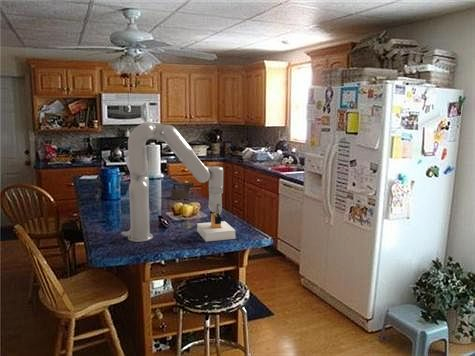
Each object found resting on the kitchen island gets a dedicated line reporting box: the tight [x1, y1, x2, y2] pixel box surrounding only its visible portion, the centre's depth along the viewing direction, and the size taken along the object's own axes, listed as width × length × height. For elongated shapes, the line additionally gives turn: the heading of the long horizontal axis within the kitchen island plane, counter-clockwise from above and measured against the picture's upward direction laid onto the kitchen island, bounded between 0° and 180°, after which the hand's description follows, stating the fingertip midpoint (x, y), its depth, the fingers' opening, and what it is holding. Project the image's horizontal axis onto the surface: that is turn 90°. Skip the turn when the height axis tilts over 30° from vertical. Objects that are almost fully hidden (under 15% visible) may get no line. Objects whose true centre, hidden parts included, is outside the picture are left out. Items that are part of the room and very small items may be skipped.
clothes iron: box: [171, 181, 195, 201], centre depth 297 cm, size 8×16×13 cm, turn 72°
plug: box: [210, 213, 221, 229], centre depth 214 cm, size 4×4×10 cm
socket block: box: [196, 220, 236, 243], centre depth 215 cm, size 16×18×4 cm
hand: (215, 221), depth 214 cm, fingers open, 9 cm apart
